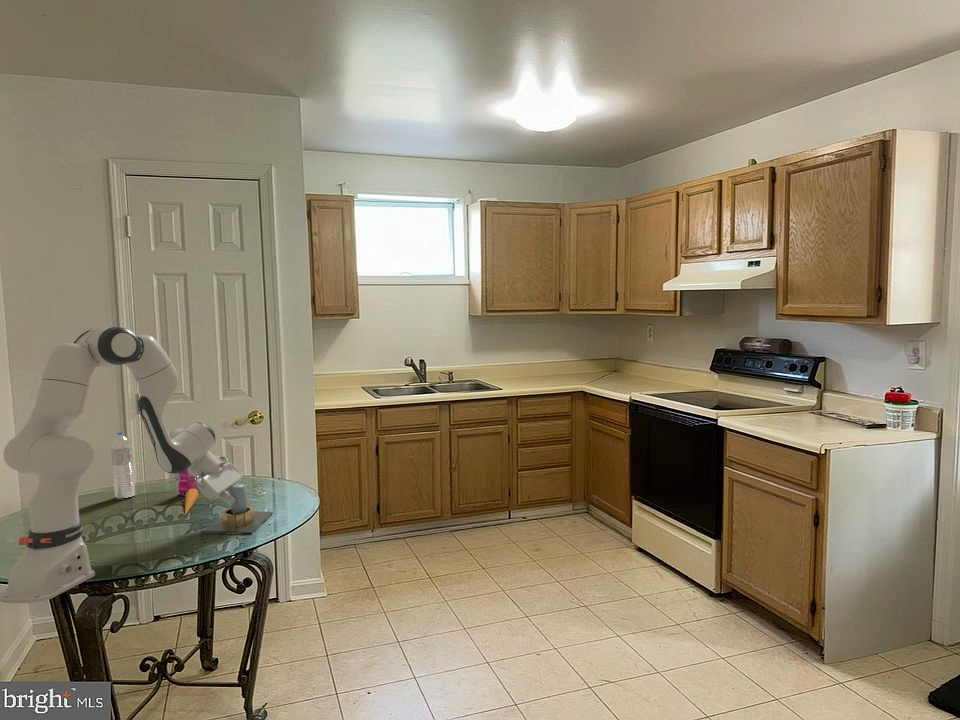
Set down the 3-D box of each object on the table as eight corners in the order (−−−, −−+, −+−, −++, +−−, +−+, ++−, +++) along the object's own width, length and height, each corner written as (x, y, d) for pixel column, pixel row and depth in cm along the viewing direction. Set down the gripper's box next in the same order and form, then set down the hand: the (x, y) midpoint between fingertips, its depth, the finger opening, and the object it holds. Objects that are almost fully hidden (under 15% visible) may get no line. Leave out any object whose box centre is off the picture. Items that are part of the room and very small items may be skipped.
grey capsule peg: (244, 518, 212) (242, 488, 211) (229, 518, 212) (227, 488, 211) (250, 513, 217) (248, 483, 216) (235, 513, 217) (233, 484, 216)
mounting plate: (251, 533, 205) (251, 530, 205) (202, 534, 206) (201, 531, 206) (273, 514, 223) (272, 511, 223) (227, 514, 224) (227, 512, 224)
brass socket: (247, 526, 209) (246, 515, 209) (217, 526, 210) (216, 515, 210) (259, 515, 219) (258, 505, 219) (230, 516, 220) (230, 505, 219)
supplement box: (176, 496, 248) (174, 466, 246) (187, 491, 253) (185, 462, 252) (189, 497, 246) (186, 467, 245) (200, 492, 252) (198, 463, 250)
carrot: (190, 500, 245) (184, 490, 243) (202, 494, 245) (195, 484, 244) (182, 523, 226) (175, 512, 224) (194, 516, 227) (188, 506, 225)
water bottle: (126, 500, 244) (121, 434, 241) (110, 499, 245) (105, 433, 243) (139, 494, 251) (134, 430, 248) (124, 494, 252) (118, 430, 249)
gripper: (198, 471, 203) (231, 501, 203) (227, 454, 223) (257, 482, 223) (185, 485, 203) (218, 515, 204) (215, 467, 224) (245, 495, 224)
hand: (239, 498), depth 214 cm, fingers closed on grey capsule peg, 5 cm apart
